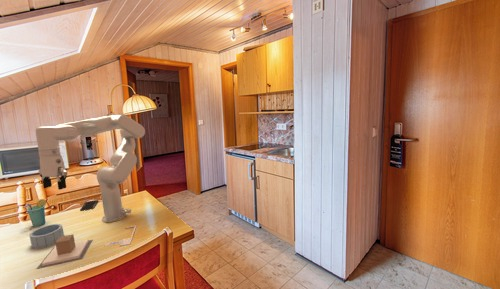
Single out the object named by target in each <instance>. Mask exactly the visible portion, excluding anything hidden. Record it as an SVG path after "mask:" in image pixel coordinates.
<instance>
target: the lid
mask: <svg viewBox="0 0 500 289" xmlns="http://www.w3.org/2000/svg"><path fill="white" fill-rule="evenodd" d="M88 242H89V239H85V240H80V241H75V237H74V234H69V235H68V234H67V235H64V236H62V237H60V238H59V239H58V240H57V241H56V242H55V244H54V245H55V246H54V247H55V248H54V247H53V248H54V249H53V248H52V249H53V250H52V249H51V250H52V251H51V250H50V251H51V253H50V252H49V253H50V254H49V253H48V254H49V255H48V254H47V255H48V256H47V255H46V256H47V258H46V257H45V258H46V259H45V258H44V259H45V260H44V259H43V260H44V261H43V260H42V261H43V263H42V266H45V265H49V264H54V263H58V262H63V261H67V260H72V259H77V258H80V256H81V254H82V253H83V251H84V249H85V247H86V246H87V244H88Z"/></svg>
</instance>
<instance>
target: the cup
mask: <svg viewBox="0 0 500 289" xmlns="http://www.w3.org/2000/svg"><path fill="white" fill-rule="evenodd" d="M46 205H47V201H46V200H45V199H44V198H43V199H40V198H39V200H37V201H36V205H33V206H32V205H31V204H30V203H27V204H26V205H24V206H23V207H22V208H23V209H26V208H27V207H28V208H27V210H26V212H27V213H28V216H29V218H30V221H31V224H32V227H33V228H40V227H43V226H45V224H46V213H45V208H46V207H45V206H46Z"/></svg>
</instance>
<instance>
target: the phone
mask: <svg viewBox="0 0 500 289" xmlns="http://www.w3.org/2000/svg"><path fill="white" fill-rule="evenodd" d="M98 203H99V199H96V200H95V199H94V200H90V201H85V203H84V204H83V205H82V206H81V208H80V210H79V211H80V212H85V211H91V210H94V209H95V208H96V207H97V204H98ZM90 209H91V210H90ZM84 210H85V211H84Z"/></svg>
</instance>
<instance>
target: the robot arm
mask: <svg viewBox="0 0 500 289" xmlns="http://www.w3.org/2000/svg"><path fill="white" fill-rule="evenodd" d="M145 129H146V128H144V126H143V125H142V124H140V123H138V122H137V121H136V120H134V119H132V118H131V117H130V116H128V115H125V114H110V115H105V116H100V117H95V118H94V117H93V118H89V119H84V120H78V121H73V122H66V123H61V124H56V125H54V126H38V127H36V128H35V130H34V131H35V136H36V143H37V150H38V155H39V156H38V157H39V168H40V169H39V170H38V173H39V177H41V181H42V187H43V189H48V188H50V187H53V186H52V180H51V178H56V179H57V187H58V190H59V191H61V190H64V189H66V188H67V183H66V180H67V176H68V171H67V170H66V166H65V161H64V158H63V155H61V150H60V149H61V148H60V141H74V140H75V139H77V138H78V137H79V136H85V135H86V136H87V135H88V136H89V135H97V134H103V133H105V132H110V131H114V130H119V134H120V137H121V143H120V144H119V146H118V147H117V149H116V150H115V151H114V153H113V154H112V155H111V157H110V160H109V162H110V164H111V165H112V166H110V165H105V166H102V167H100V168H99V169H97V172H96V180H97V182H98V185H99V188H100V194H101V201H102V208H103V213H104V216H102V218H101V222H103V223H114V222H117V221H120V220H122V219H124V218H125V217H126V216H127V214H130V213H132V209H130V208H125V207H124V206H123V202H122V195H121V189H120V184H123V183H124V182H126V180H127V179H128V177H129V176H130V174H131V173H132V172H133V170H134V169H135V167H136V165H137V162H138V158H137V155H136V153H134V151H135V149H136V141H135V140H136V139H142V138H143V137H144V136H145V134H146V130H145Z"/></svg>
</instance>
